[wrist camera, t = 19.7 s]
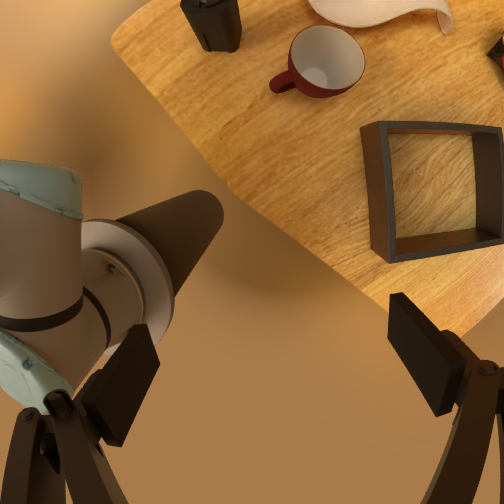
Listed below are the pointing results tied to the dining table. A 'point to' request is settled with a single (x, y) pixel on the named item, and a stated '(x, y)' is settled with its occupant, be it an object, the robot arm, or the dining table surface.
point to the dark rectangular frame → (382, 196)
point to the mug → (321, 63)
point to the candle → (214, 23)
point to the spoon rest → (378, 11)
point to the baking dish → (498, 52)
